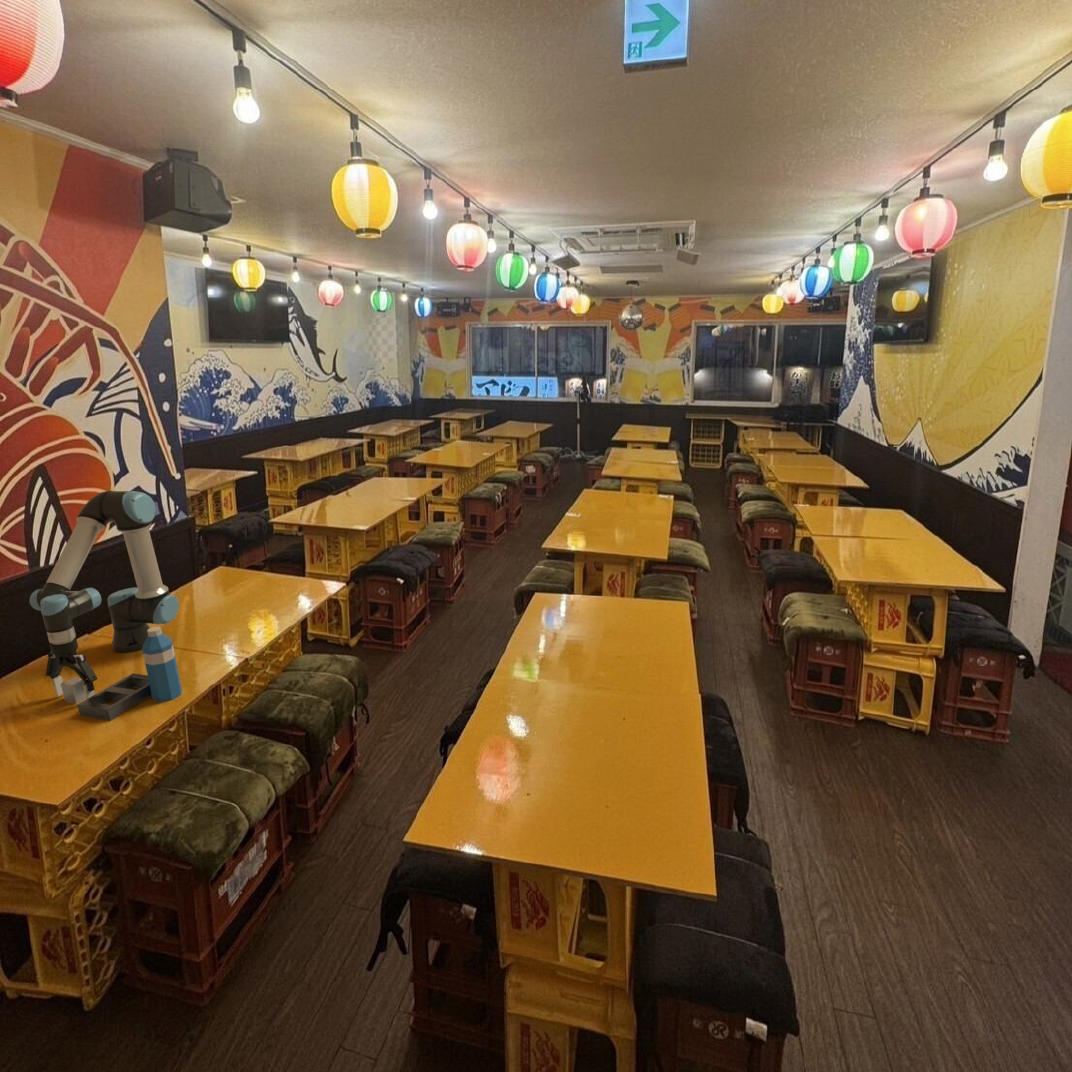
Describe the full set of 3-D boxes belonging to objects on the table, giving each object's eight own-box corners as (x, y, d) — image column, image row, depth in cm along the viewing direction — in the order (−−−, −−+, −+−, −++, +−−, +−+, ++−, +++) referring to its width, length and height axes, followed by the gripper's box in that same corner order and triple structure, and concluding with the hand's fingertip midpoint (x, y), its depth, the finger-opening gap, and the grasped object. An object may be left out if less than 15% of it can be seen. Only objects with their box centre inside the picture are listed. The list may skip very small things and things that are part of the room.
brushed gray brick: (78, 694, 237) (74, 676, 235) (89, 696, 236) (85, 678, 234) (65, 702, 232) (60, 683, 230) (76, 703, 231) (71, 685, 229)
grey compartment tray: (134, 683, 244) (132, 673, 243) (163, 687, 240) (161, 677, 239) (79, 715, 224) (77, 704, 223) (110, 720, 220) (108, 709, 219)
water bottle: (177, 685, 241) (164, 621, 234) (186, 694, 235) (173, 628, 228) (148, 695, 235) (134, 629, 228) (157, 705, 229) (143, 637, 221)
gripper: (24, 641, 228) (38, 697, 233) (81, 648, 221) (94, 706, 226) (45, 632, 234) (58, 687, 240) (101, 639, 227) (113, 695, 233)
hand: (76, 696), depth 233 cm, fingers open, 13 cm apart
